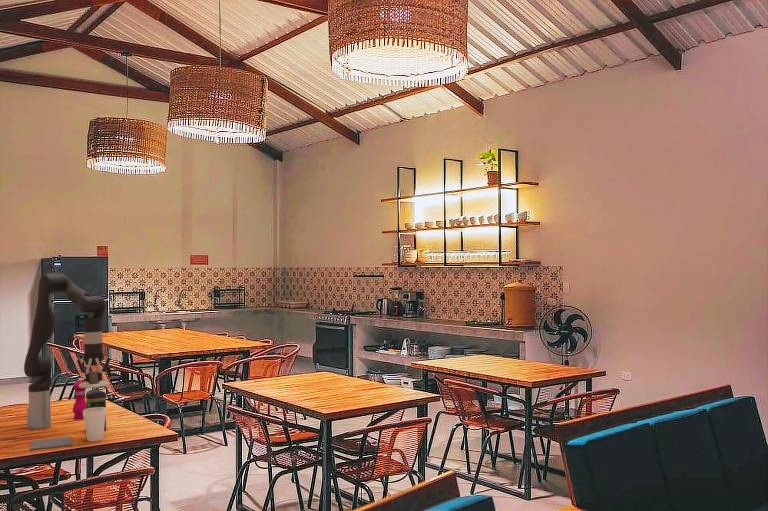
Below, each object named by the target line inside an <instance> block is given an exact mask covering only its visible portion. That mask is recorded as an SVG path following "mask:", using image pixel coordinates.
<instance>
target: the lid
mask: <svg viewBox="0 0 768 511" xmlns="http://www.w3.org/2000/svg"><path fill="white" fill-rule="evenodd" d="M84 382H85V383H81V384H79V387H80V388H86V389H93V388H94V389H98V388H103V387H107V386H109V385H110V382H109V381H104V380H101V382H99V370H94V371H93V370H91V371H89V383H87V381H84Z"/></svg>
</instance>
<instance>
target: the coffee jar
mask: <svg viewBox="0 0 768 511" xmlns="http://www.w3.org/2000/svg"><path fill="white" fill-rule="evenodd" d="M106 393H107V392H106V391H103V390H101V389H98V388H94V389H89V390H87V391H86V392H85V401H86V404H87V409H88V408H94V407H105V408H106V409H107V404H106V403H107V395H106ZM106 430H107V416H106V417H105V426H104V431H106Z"/></svg>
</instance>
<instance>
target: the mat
mask: <svg viewBox="0 0 768 511" xmlns="http://www.w3.org/2000/svg"><path fill="white" fill-rule="evenodd" d="M30 443H31V444H30V448H29V449H30V450H29V451H36V450H38V451H39V450H43V449H44V450H46V449H55V448H64V447H73V444H74V443H73V436H64V437H54V438H45V439H35V440H31V442H30Z"/></svg>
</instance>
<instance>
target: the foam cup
mask: <svg viewBox="0 0 768 511" xmlns="http://www.w3.org/2000/svg"><path fill="white" fill-rule="evenodd" d="M83 416H84V419H83V422H84V428H85V433H86V439H87V441H88V442H97V441H102V440H103V439H104V433H105V430H104V426H105V417H106V418H107V407H106V408H105V407H94V408H88V409H84V410H83Z"/></svg>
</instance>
